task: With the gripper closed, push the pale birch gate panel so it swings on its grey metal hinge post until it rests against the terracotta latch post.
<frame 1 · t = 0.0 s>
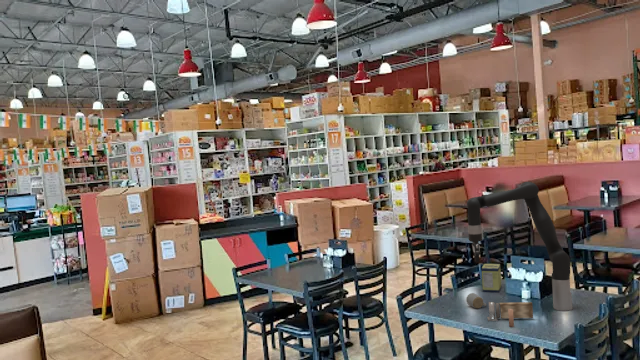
hand: (476, 260, 306), 29 cm above the table, tool pointing down, fingers open, 8 cm apart
gate: (514, 310, 286), point 5 cm above the table, hinge at 0.0°
protein box: (492, 289, 348), on the table
latch post: (511, 326, 276), on the table
hinge post: (492, 319, 289), on the table
ceramic mug: (477, 307, 314), on the table
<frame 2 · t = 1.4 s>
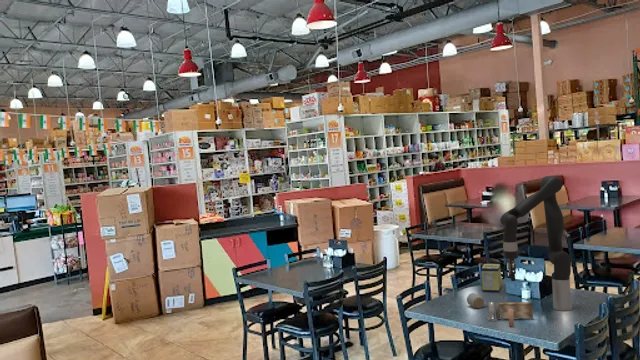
hand: (512, 279, 295), 19 cm above the table, tool pointing down, fingers open, 5 cm apart
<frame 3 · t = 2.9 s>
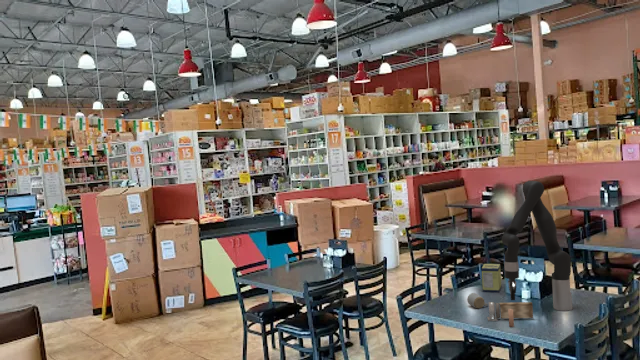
hand: (512, 299, 296), 8 cm above the table, tool pointing down, fingers closed
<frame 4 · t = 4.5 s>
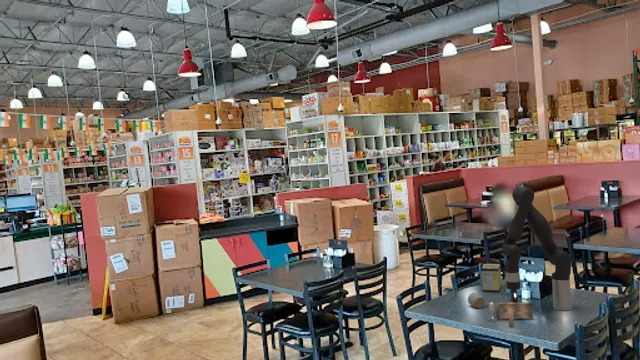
hand: (514, 310, 294), 3 cm above the table, tool pointing down, fingers closed
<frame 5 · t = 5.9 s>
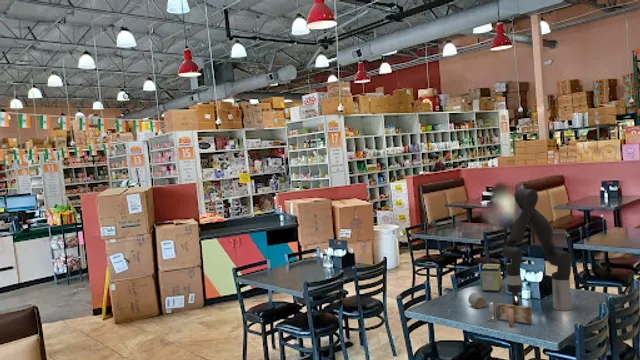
hand: (516, 313, 287), 3 cm above the table, tool pointing down, fingers closed
gate: (513, 312, 282), point 5 cm above the table, hinge at 29.6°, touching hand
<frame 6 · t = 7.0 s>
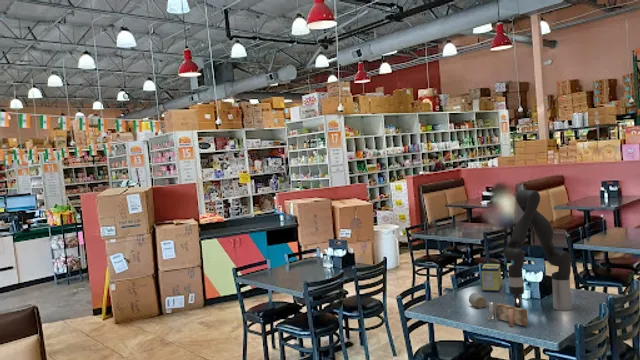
hand: (518, 316, 283), 3 cm above the table, tool pointing down, fingers closed
gate: (510, 313, 281), point 5 cm above the table, hinge at 46.2°, touching hand
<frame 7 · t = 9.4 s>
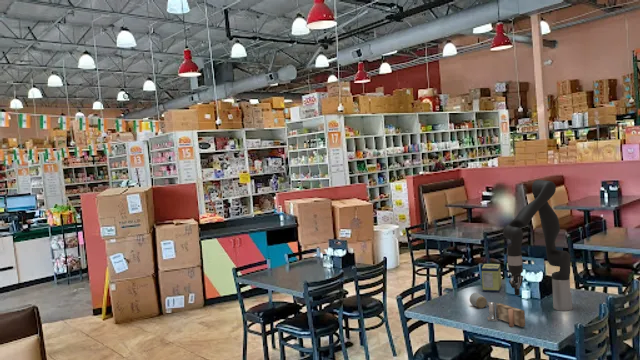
hand: (517, 295, 284), 14 cm above the table, tool pointing down, fingers closed
gate: (509, 314, 280), point 5 cm above the table, hinge at 52.9°, touching latch post
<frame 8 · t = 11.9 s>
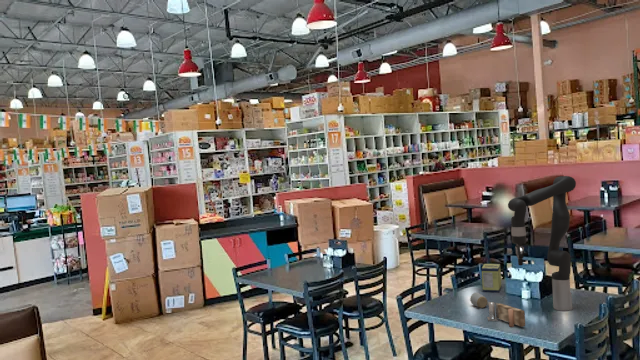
hand: (520, 265, 296), 27 cm above the table, tool pointing down, fingers closed
at the end: gate at +53° (first picture: +0°); gate touching latch post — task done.
